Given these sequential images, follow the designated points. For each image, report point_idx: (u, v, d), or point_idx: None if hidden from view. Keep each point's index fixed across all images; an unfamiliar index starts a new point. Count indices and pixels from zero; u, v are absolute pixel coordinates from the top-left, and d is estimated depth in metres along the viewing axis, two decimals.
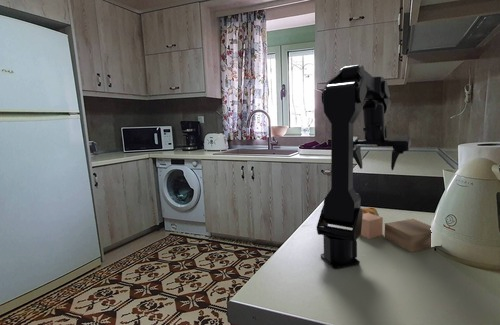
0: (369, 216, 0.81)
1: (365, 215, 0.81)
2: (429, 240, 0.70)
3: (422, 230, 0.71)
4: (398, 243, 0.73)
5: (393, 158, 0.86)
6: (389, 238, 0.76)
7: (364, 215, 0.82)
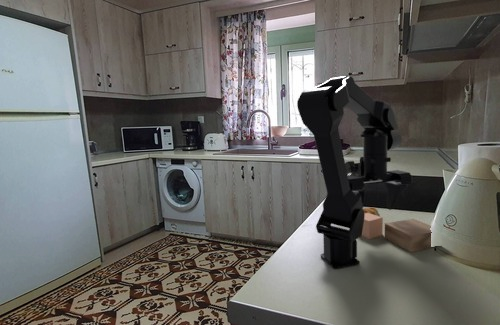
0: (369, 216, 0.81)
1: (365, 215, 0.81)
2: (429, 240, 0.70)
3: (422, 230, 0.71)
4: (398, 243, 0.73)
5: (398, 194, 0.77)
6: (389, 238, 0.76)
7: None
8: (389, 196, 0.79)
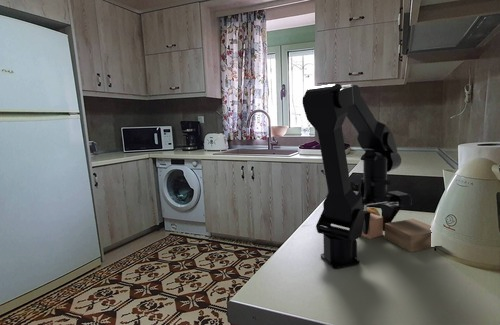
0: (370, 215, 0.81)
1: None
2: (429, 240, 0.70)
3: (422, 230, 0.71)
4: (398, 243, 0.73)
5: (392, 216, 0.77)
6: (389, 238, 0.76)
7: None
8: (384, 218, 0.80)
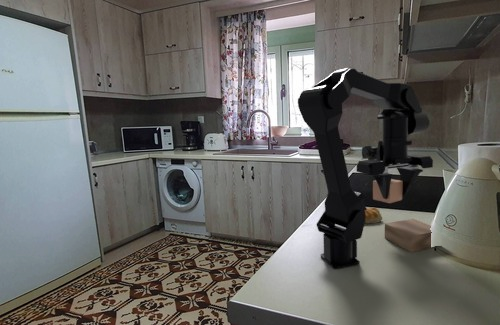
0: None
1: None
2: (429, 240, 0.70)
3: (422, 230, 0.71)
4: (398, 243, 0.73)
5: (412, 179, 0.74)
6: (389, 238, 0.76)
7: None
8: (403, 182, 0.76)
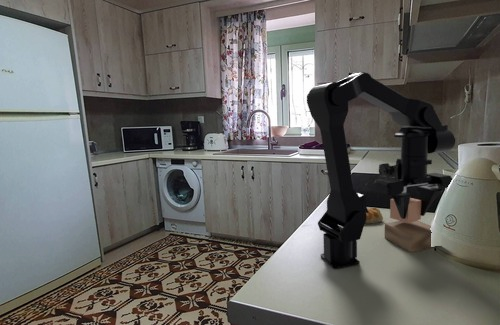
0: None
1: None
2: (429, 240, 0.70)
3: (422, 230, 0.71)
4: (398, 243, 0.73)
5: (432, 199, 0.72)
6: (389, 238, 0.76)
7: None
8: (421, 201, 0.74)
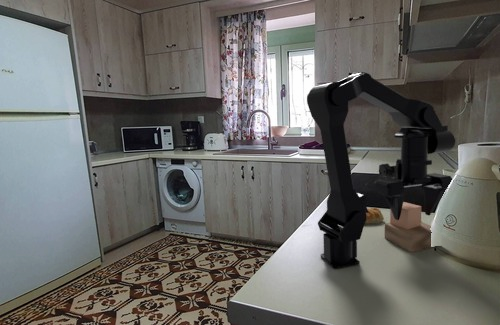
0: (406, 205, 0.75)
1: None
2: (429, 240, 0.70)
3: (422, 230, 0.71)
4: (398, 243, 0.73)
5: (438, 198, 0.72)
6: (389, 238, 0.76)
7: None
8: (427, 201, 0.74)
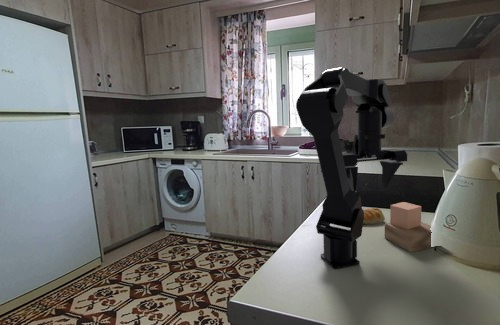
0: (406, 205, 0.75)
1: (402, 204, 0.76)
2: (429, 240, 0.70)
3: (422, 230, 0.71)
4: (398, 243, 0.73)
5: (393, 171, 0.76)
6: (389, 238, 0.76)
7: (400, 204, 0.76)
8: (384, 175, 0.78)
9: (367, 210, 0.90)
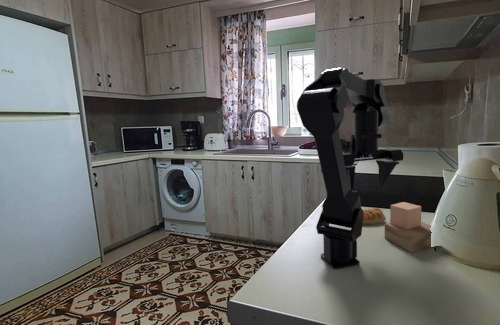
0: (406, 205, 0.75)
1: (402, 204, 0.76)
2: (429, 240, 0.70)
3: (422, 230, 0.71)
4: (398, 243, 0.73)
5: (389, 171, 0.76)
6: (389, 238, 0.76)
7: (400, 204, 0.76)
8: (381, 174, 0.79)
9: (368, 210, 0.90)
